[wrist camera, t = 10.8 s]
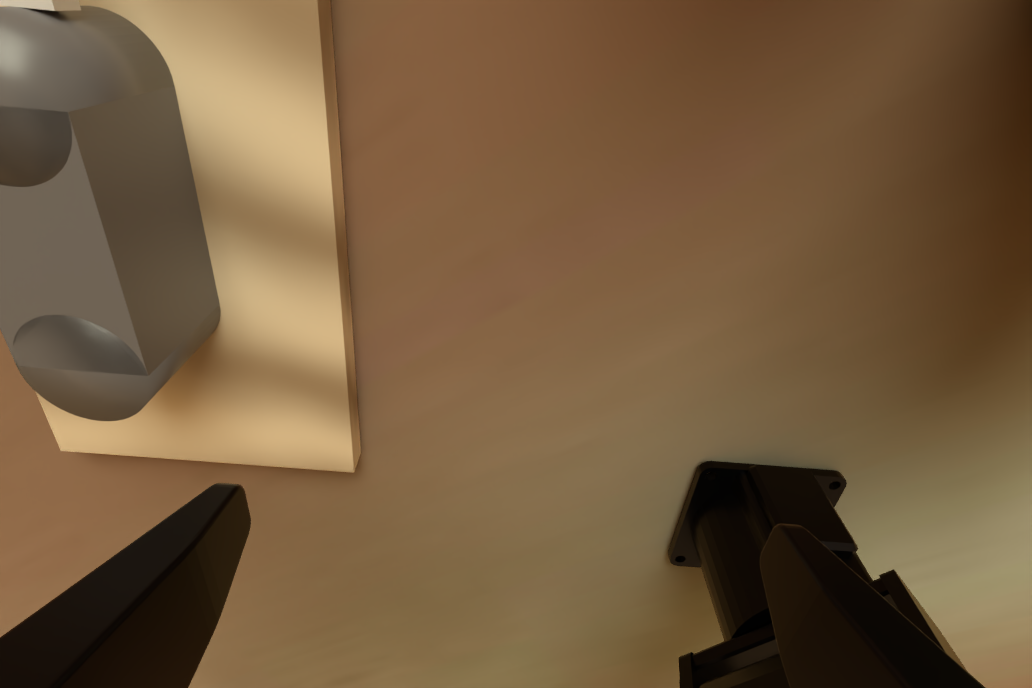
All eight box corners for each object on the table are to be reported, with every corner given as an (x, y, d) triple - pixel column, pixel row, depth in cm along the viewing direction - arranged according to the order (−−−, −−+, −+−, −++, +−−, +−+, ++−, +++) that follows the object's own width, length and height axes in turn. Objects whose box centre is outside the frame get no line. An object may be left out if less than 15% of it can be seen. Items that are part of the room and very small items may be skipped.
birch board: (360, 452, 25) (354, 472, 24) (80, 431, 24) (61, 450, 23) (314, -244, 13) (296, -265, 12) (-216, -309, 13) (-280, -336, 12)
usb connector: (228, 348, 21) (163, 425, 17) (127, 340, 20) (39, 416, 17) (140, -80, 14) (0, -110, 10) (-9, -96, 14) (-205, -132, 10)
